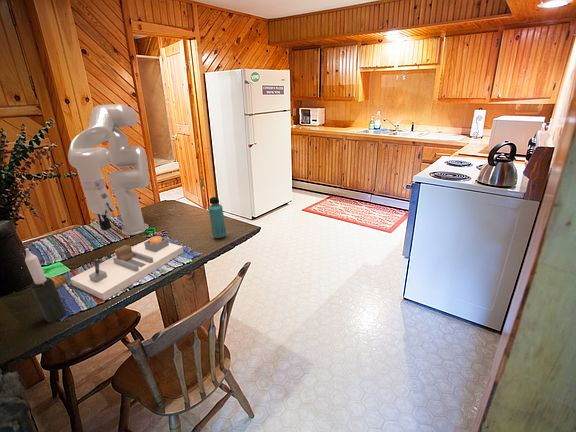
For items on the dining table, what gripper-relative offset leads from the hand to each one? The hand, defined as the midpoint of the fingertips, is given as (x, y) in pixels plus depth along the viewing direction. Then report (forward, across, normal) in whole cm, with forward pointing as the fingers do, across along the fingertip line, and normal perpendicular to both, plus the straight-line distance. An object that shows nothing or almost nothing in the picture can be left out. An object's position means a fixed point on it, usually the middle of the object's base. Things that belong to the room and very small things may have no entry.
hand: (106, 229), depth 122 cm
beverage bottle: (+16, -24, -37) cm, 47 cm away
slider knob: (+12, -6, -1) cm, 14 cm away
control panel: (+16, -9, -1) cm, 18 cm away
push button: (+12, -9, -14) cm, 21 cm away
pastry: (+16, +7, +22) cm, 28 cm away
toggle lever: (+11, -10, +12) cm, 19 cm away
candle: (+16, -12, +29) cm, 36 cm away
